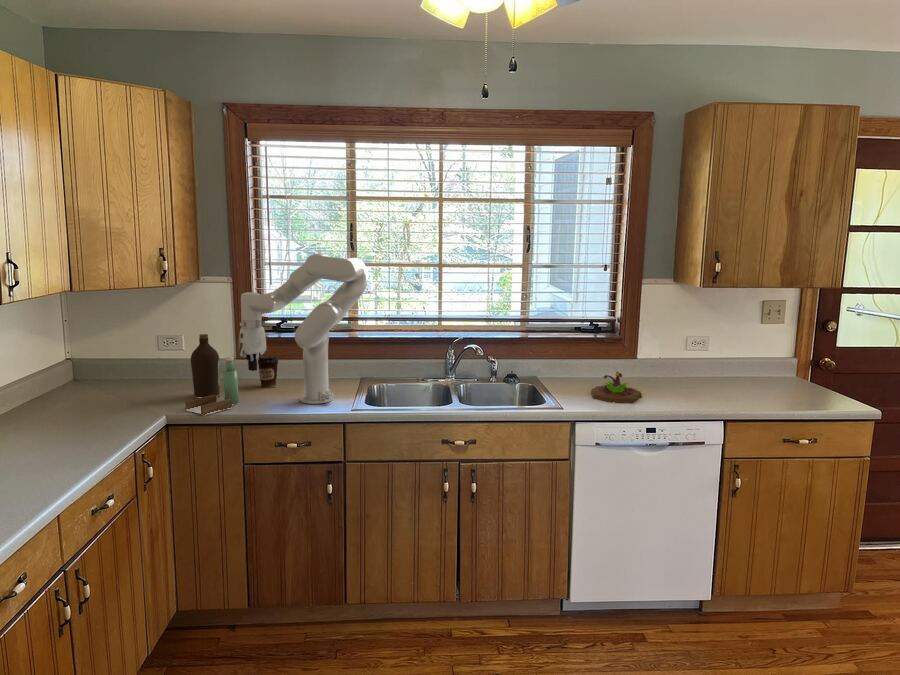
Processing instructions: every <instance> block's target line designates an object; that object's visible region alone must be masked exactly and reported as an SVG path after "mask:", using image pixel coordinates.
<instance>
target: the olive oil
mask: <svg viewBox="0 0 900 675" xmlns="http://www.w3.org/2000/svg"><path fill="white" fill-rule="evenodd" d="M198 341H199V344H198V346H196V348H195V349H194V350H193V351H192V353H191V355H190V367H191V374H192V385H193V395H195V396H196V397H206V396H210V395H216V396H217V395H219V394H220V393H221V392H220V356H219V353H218V351H217V350H216V349H215V348H214V347H213V346H211V344H209V335H208V334H206V333H201V334H199V338H198ZM195 396H194V397H195ZM219 396H220V395H219Z"/></svg>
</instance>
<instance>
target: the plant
mask: <svg viewBox="0 0 900 675" xmlns="http://www.w3.org/2000/svg"><path fill="white" fill-rule="evenodd" d="M623 376H624V375H623V374H622V373H621V372H619V371H615V378H614V377H612V376H611V375H603V376H602V378H603V380H606V379H607V378H609V379H611V380H612V381H609V380H608V381H607V382H608V383H607V382H603V384H604V385H598V386H595V387H594V388H591V390H590V395H591V396H592V399H593V400H596V399H597V401H601V402H604V401H606V402H605V403H612V402H615V403H614V404H632V403H633V404H635V403H634V402H638V401H639V399H641V398H642V395H643V394H642V393H641V391H640V390H639V389H636V388H633V387H628V383H629V382H623V383H621V381H620V380H621V378H623ZM637 400H638V401H637Z"/></svg>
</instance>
